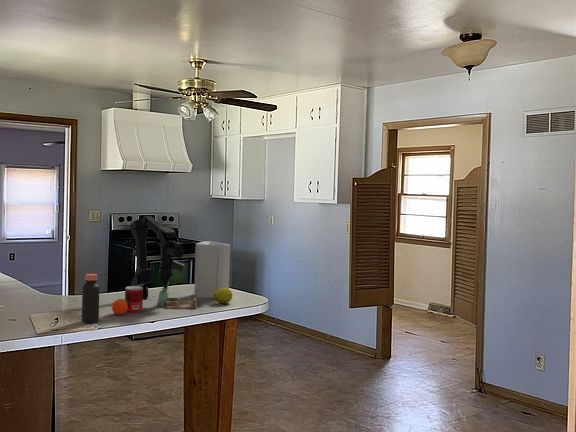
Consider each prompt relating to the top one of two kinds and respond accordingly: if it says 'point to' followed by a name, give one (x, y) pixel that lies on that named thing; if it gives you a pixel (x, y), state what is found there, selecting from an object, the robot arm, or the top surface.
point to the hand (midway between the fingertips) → (165, 287)
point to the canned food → (134, 298)
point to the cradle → (181, 304)
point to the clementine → (120, 306)
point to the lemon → (223, 295)
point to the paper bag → (211, 268)
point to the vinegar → (90, 299)
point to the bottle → (163, 296)
